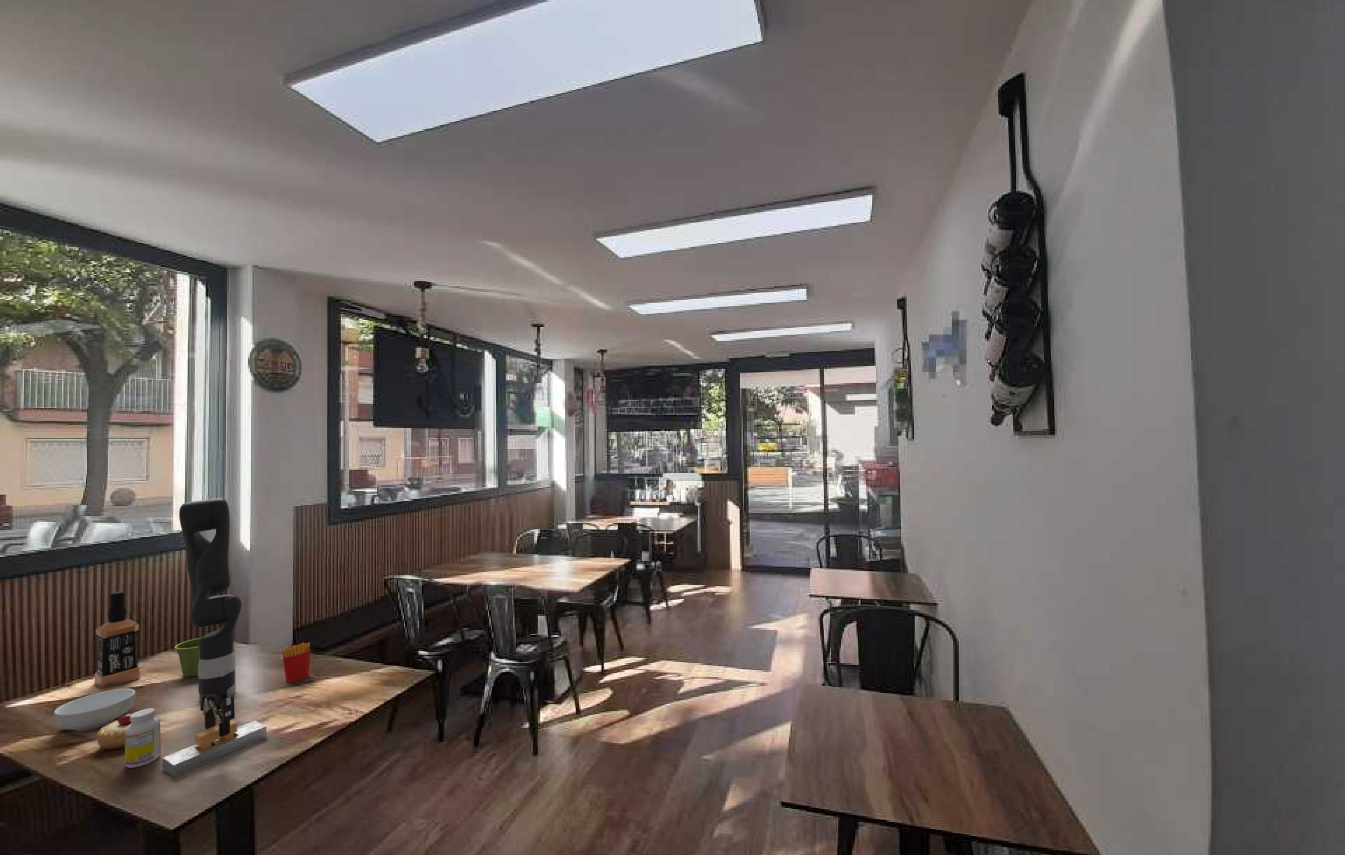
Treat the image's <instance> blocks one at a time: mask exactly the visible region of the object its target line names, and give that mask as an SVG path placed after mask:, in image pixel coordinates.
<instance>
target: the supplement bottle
mask: <svg viewBox="0 0 1345 855" xmlns="http://www.w3.org/2000/svg"><path fill="white" fill-rule="evenodd" d="M132 713H133V714H132V715H131V716H130V721H131V724H130V725H129V726H128V727H127V728H126V729H125V747H124V760H125V761H124V762H125V767H126V768H130V769H134V768H139V767H143V766H145V765H147V764H151V763H152V762H154V761H156V760H157V759H159V758H160V755H161V754H162V753H161V751H162V750H161V748H162V746H161V719H160V718H159V717H158V716H156V717H154V715H156V709H155V708H154V707H153V708H150V707H149V708H145V709H141V710H138V711H136V712H132Z"/></svg>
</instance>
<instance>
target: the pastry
mask: <svg viewBox="0 0 1345 855" xmlns="http://www.w3.org/2000/svg"><path fill="white" fill-rule="evenodd" d="M125 709H126V710H127V712H128V713H127V714H126V713H125V714H123V715H121V716H120V717H118V718H117V720H116V719H114V720H113V721H112V722H110V723H109V724H106V725H104V726H101V727H100V729H99V730H98V732H97V733H96V741H97V744H98V745H99V746H100V747H101V748H102V749H104V750H109V751H110V750H112V751H113V750H119V749H123V748H125V729H126V728H127V727H128V726H129V725H130V724H131V721H130V716H131V715H132V714H133V713H134V712H132V713H131V712H130V711H129V710H128V709H127V708H125ZM154 717H157V715H156V714H155V715H154Z"/></svg>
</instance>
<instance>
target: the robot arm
mask: <svg viewBox="0 0 1345 855" xmlns="http://www.w3.org/2000/svg"><path fill="white" fill-rule="evenodd" d="M178 518H179V524H180V528H181V532H182V536H183V540H184V544H185V552H186V555H185V556H186V568H187V574H188V578H189V585H190V588H191V589H190V590H191V591H190V592H191V610H190V613H189V621H190V623H191V624H192V625H193V626H194V627H196V628H205V627H210V626H214V625H215V626H216V625H220V624H222V625H221V626H220V627H219V628H218V629H216V630H214V631H210V632H208V633H206V634H205V635H202V636H201V637H200V638H201V639H200V640H199V666H198V675H197V676H198V678H197V680H198V681H197V683H198V686H197V687H198V688H197V689H198V702H200V703H199V711H200V712H202V715H203V716H204V728H205V730H208V729H211V728H213V727H216V726H217V725H216V724H217V721H218V725H219V736H220V737H223V736H225V735H228V734H229V733H230V721H231V720H234V719H235V718H236V716H235V715H236V713H235V712H236V711H235V709H236V708H235V696H234V695H235V693H236V690H237V689H236V688H237V686H236V685H237V684H236V683H237V682H236V679H237V678H236V625H237V622H238V619H239V617H240V614H241V610H242V604H243V603H242V600H241V599H240V597H239V596H237V595H235V594H231V593H230V594H229V593H228V594H222V595H221V593H223V592H225V591H227V590H228V589H229V587H230V586H231V577H230V567H229V547H230V527H231V525H230V508H229V504H228V502H227V500H226V499H225V498H218V497H217V498H210V499H209V498H208V499H203V500H194V501H186V502H184V503H182V504H181V505H180V508H179V511H178ZM211 530H215V535H214V537H213V538H212V540H211V541H210V540H208V539H207V538H205V537H204V536H203V535H202V534H201V532H206V531H211ZM218 594H220V595H218Z"/></svg>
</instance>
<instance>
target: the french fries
mask: <svg viewBox="0 0 1345 855" xmlns="http://www.w3.org/2000/svg"><path fill="white" fill-rule="evenodd" d="M310 645H311V642H307V643H305V642H300V643H299V644H298V645H297V644H295V645H292V646H291V647H289V646H288V647H286V649H282V650H281V653H282V661H283V669H284V676H285V682H287V683H293V682H297V681H300V680H302V679H305V678H307V677H308V676H309V673H310V664H311V663H310V662H311V652H312V651H311V649H310V647H311V646H310Z"/></svg>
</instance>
